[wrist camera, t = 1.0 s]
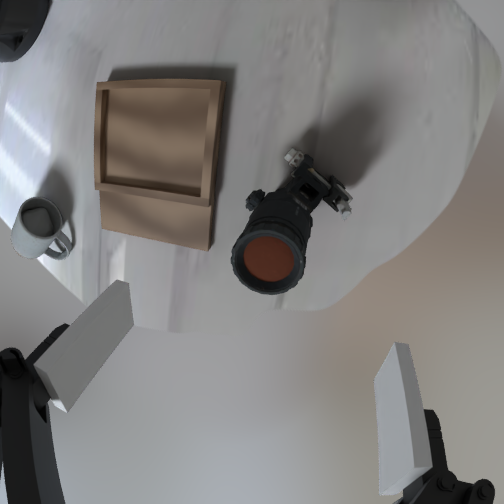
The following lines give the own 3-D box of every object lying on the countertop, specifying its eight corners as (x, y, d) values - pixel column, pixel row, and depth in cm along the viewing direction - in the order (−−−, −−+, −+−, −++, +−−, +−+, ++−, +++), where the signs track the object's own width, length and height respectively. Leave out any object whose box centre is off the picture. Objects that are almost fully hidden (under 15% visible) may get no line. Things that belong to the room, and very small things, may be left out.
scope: (370, 243, 20) (276, 327, 25) (351, 191, 32) (292, 252, 37) (278, 162, 19) (194, 264, 24) (294, 141, 31) (238, 208, 36)
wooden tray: (106, 82, 32) (96, 82, 30) (226, 81, 30) (220, 80, 28) (105, 226, 41) (97, 231, 39) (210, 247, 39) (205, 255, 37)
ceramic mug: (29, 218, 44) (-1, 237, 37) (45, 189, 40) (11, 206, 34) (63, 264, 46) (35, 287, 40) (82, 239, 43) (51, 262, 36)
